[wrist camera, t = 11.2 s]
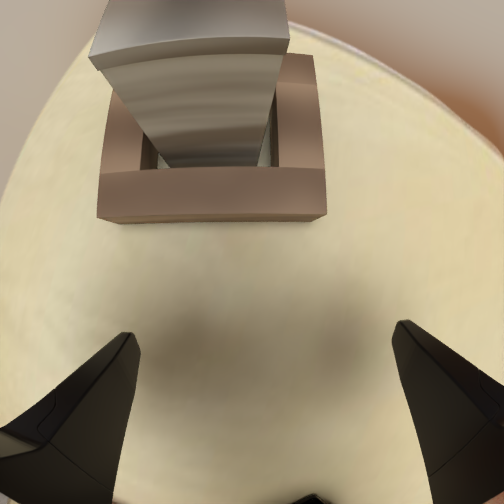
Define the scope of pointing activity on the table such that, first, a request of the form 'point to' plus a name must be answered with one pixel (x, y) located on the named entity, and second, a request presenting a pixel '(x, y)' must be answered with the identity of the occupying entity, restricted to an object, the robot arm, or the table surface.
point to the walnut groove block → (221, 178)
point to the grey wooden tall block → (195, 73)
